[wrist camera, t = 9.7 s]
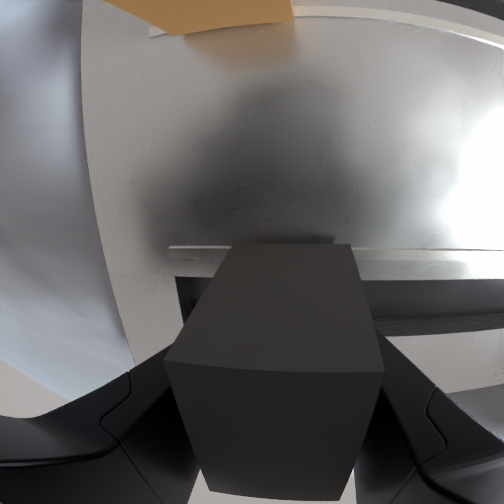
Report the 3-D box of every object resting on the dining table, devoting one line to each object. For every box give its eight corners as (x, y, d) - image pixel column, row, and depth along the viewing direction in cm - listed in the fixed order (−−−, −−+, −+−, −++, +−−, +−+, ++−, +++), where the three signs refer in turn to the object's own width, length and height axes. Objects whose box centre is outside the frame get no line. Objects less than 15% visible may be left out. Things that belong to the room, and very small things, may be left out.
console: (571, -11, 3) (595, -18, 1) (550, 343, 10) (568, 368, 8) (119, -55, 7) (91, -73, 5) (159, 352, 14) (141, 383, 12)
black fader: (344, 228, 9) (385, 371, 4) (335, 348, 11) (338, 500, 5) (242, 228, 10) (162, 359, 4) (251, 346, 11) (210, 490, 6)
